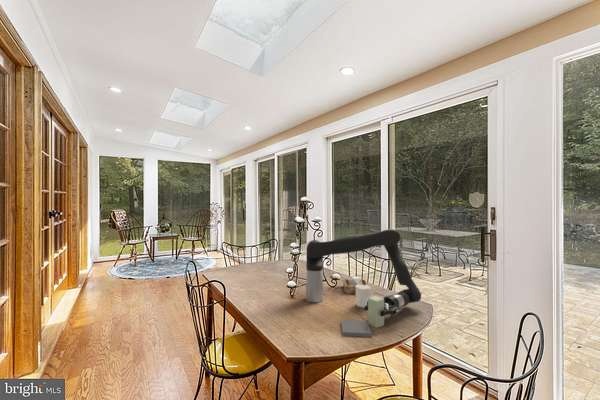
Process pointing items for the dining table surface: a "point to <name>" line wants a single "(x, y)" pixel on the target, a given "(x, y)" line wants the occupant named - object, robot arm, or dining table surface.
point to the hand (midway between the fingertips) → (373, 311)
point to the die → (355, 281)
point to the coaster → (356, 328)
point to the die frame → (351, 289)
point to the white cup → (362, 295)
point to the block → (375, 311)
